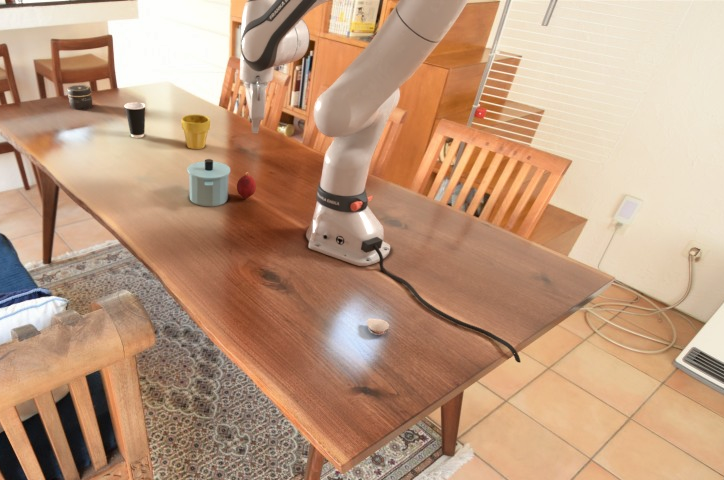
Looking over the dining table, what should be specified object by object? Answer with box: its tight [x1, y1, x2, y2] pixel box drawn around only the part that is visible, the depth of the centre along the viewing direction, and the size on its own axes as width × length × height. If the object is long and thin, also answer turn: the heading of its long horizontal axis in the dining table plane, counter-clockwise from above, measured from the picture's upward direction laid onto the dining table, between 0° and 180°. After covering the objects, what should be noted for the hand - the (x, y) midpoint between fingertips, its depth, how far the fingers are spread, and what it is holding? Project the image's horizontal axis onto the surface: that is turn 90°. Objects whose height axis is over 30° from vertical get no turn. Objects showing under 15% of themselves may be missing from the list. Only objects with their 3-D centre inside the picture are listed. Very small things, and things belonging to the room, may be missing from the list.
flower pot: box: [181, 114, 211, 150], centre depth 178 cm, size 10×10×10 cm
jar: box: [66, 84, 93, 111], centre depth 213 cm, size 10×10×8 cm
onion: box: [236, 171, 257, 200], centre depth 146 cm, size 6×6×8 cm
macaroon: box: [366, 318, 390, 336], centre depth 102 cm, size 4×5×2 cm
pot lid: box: [186, 158, 231, 179], centre depth 142 cm, size 13×13×4 cm
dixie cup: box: [123, 101, 147, 139], centre depth 185 cm, size 8×8×11 cm
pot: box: [188, 173, 230, 207], centre depth 146 cm, size 12×17×8 cm
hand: (253, 127), depth 136 cm, fingers open, 8 cm apart
